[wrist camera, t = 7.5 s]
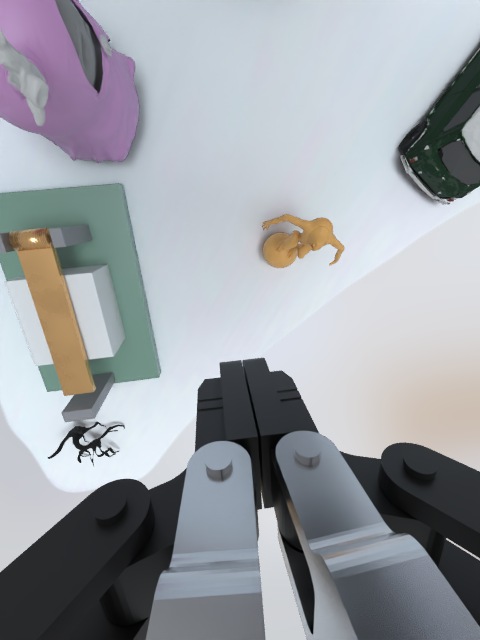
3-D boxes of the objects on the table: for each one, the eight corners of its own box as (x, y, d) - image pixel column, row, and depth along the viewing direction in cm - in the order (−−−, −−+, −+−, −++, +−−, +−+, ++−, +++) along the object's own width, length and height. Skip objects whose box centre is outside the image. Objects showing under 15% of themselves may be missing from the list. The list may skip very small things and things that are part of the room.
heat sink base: (-14, 196, 31) (-96, 190, 23) (122, 184, 32) (93, 174, 24) (53, 385, 39) (10, 432, 31) (160, 371, 40) (148, 414, 32)
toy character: (169, 152, 32) (114, 64, 13) (77, 184, 32) (-111, 143, 13) (117, 8, 27) (-80, -442, 8) (11, 45, 27) (-414, -317, 9)
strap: (18, 230, 27) (6, 231, 25) (52, 227, 27) (42, 227, 26) (69, 389, 33) (61, 398, 31) (97, 385, 33) (91, 395, 31)
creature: (137, 427, 44) (92, 402, 40) (135, 459, 40) (84, 434, 35) (100, 456, 45) (51, 435, 41) (94, 491, 41) (39, 470, 37)
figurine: (238, 247, 36) (253, 264, 24) (262, 199, 34) (290, 193, 23) (297, 277, 38) (335, 305, 26) (321, 233, 36) (374, 243, 25)
